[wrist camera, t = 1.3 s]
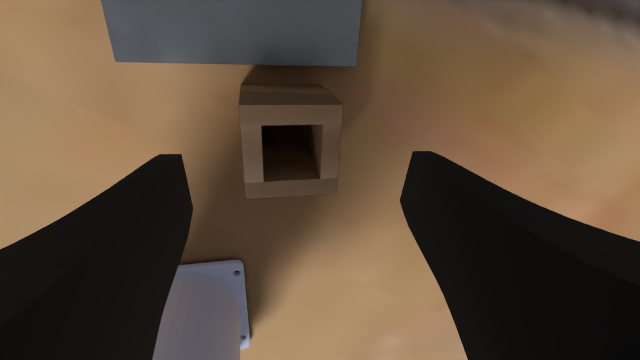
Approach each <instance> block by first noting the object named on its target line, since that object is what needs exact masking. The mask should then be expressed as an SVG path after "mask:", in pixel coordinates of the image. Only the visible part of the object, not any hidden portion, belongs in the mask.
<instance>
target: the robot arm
mask: <svg viewBox="0 0 640 360" xmlns="http://www.w3.org/2000/svg"><path fill="white" fill-rule="evenodd" d="M400 203H401V206H402V209H403V212H404V215H405V218H406V221H407V223H408V226H409V228H410V230H411V232H412V234H413V236H414V238H415V240H416V242H417V244H418V246H419V248H420V250H421V252H422V253H423V255H424V257H425V259H426V261H427V263H428V265H429V267H430V269H431V271H432V272H433V274H434V276H435V278H436V280H437V282H438V284H439V286H440V288H441V290H442V293H443V295H444V297H445V300H446V302H447V305H448V307H449V310H450V312H451V315H452V317H453V320H454V322H455V325H456V328H457V330H458V333H459V336H460V339H461V342H462V344H463V347H464V350H465V353H466V355H467V358H468V360H640V242H639V241H636V240H632V239H629V238H626V237H623V236H620V235H616V234H613V233H610V232H608V231H605V230H602V229H599V228H596V227H593V226H590V225H587V224H584V223H582V222H579V221H576V220H574V219H571V218H568V217H566V216H563V215H561V214H558V213H556V212H554V211H551V210H549V209H546V208H544V207H541V206H539V205H537V204H535V203H532V202H530V201H528V200H526V199H524V198H521V197H519V196H517V195H515V194H513V193H511V192H509V191H507V190H505V189H503V188H501V187H499V186H497V185H495V184H493V183H491V182H490V181H488V180H486V179H484V178H482V177H480V176H478V175H476V174H475V173H473V172H471V171H469V170H467V169H465V168H464V167H462V166H460V165H458V164H456V163H454V162H452V161H451V160H449V159H447V158H445V157H443V156H441V155H438V154H436V153H434V152H431V151H413V152H412V156H411V160H410V164H409V168H408V171H407V175H406V179H405V183H404V187H403V190H402V194H401V198H400ZM192 211H193V206H192V201H191V196H190V192H189V187H188V183H187V178H186V173H185V169H184V164H183V160H182V155H181V154H159V155H158V156H156V157H154V158H152V159H151V160H149V161H148V162H146V163H145V164H143V165H142V166H140V167H139V168H138V169H136V170H135V171H133V172H132V173H130V174H129V175H128V176H126V177H125V178H123V179H122V180H120V181H119V182H117V183H116V184H114V185H113V186H111V187H110V188H109V189H107V190H106V191H104V192H102V193H101V194H99V195H98V196H96V197H95V198H93V199H91V200H90V201H88V202H87V203H85V204H83V205H82V206H80V207H79V208H77V209H75V210H74V211H72V212H71V213H69V214H67V215H66V216H64V217H62V218H60V219H59V220H57V221H55V222H53V223H51V224H50V225H48V226H46V227H44V228H42V229H40V230H38V231H36V232H35V233H33V234H31V235H29V236H27V237H25V238H23V239H21V240H19V241H17V242H15V243H13V244H11V245H9V246H7V247H5V248H2V249H0V360H240V349H246V348H248V347H249V346H250V334H249V323H248V311H247V300H246V288H245V277H244V266H243V262H242V261H241V260H227V261H217V262H207V263H197V264H187V265H179V263H180V260H181V257H182V253H183V250H184V247H185V244H186V241H187V238H188V234H189V229H190V224H191V217H192ZM234 271H239V272H234Z"/></svg>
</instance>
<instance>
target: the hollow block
mask: <svg viewBox="0 0 640 360" xmlns="http://www.w3.org/2000/svg"><path fill="white" fill-rule="evenodd" d="M342 115H343V104H342V103H341V102H340V101H338V100H337V99H336V98H335V97H334V96H333V95H332V94H330V93H329V92H328V91H327V90H326V89H325V88H324V87H323V86H321V85H270V84H241V88H240V98H239V116H240V129H241V143H242V156H243V170H244V183H245V197H246V199H258V198H274V197H289V196H305V195H320V194H336V193H337V181H338V168H339V155H340V141H341V128H342ZM265 125H305V142H304V144H297V145H265V146H262V133H261V126H265Z"/></svg>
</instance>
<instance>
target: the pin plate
mask: <svg viewBox="0 0 640 360" xmlns="http://www.w3.org/2000/svg"><path fill="white" fill-rule="evenodd" d="M101 3H102V7H103V11H104V15H105V20H106V24H107V28H108V32H109V36H110V41H111V45H112V49H113V53H114V58H115V62H146V63H196V64H246V65H296V66H346V67H356V63H357V52H358V41H359V30H360V18H361V7H362V0H101Z"/></svg>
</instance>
